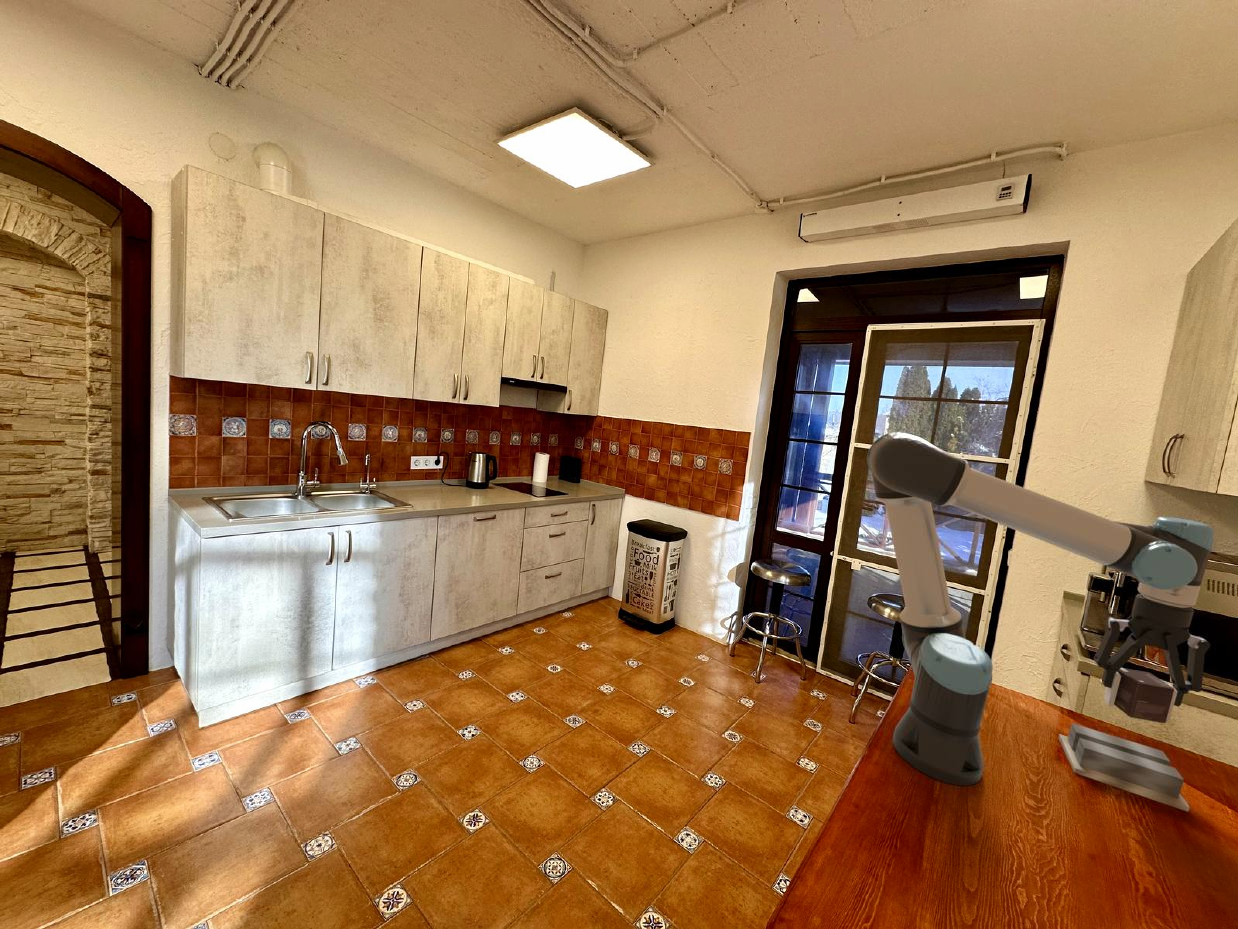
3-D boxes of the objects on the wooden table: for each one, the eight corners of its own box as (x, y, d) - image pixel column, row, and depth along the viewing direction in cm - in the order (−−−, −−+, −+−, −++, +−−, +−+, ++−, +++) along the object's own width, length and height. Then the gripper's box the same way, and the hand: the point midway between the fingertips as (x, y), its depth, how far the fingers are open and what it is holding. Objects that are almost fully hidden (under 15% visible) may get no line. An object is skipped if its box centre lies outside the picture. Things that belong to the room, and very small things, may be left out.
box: (1166, 725, 95) (1176, 689, 94) (1128, 718, 96) (1138, 682, 95) (1141, 706, 101) (1150, 672, 100) (1105, 699, 102) (1114, 666, 101)
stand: (1074, 772, 99) (1080, 749, 98) (1058, 738, 110) (1063, 717, 109) (1188, 812, 92) (1195, 787, 91) (1159, 771, 102) (1166, 748, 101)
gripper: (1101, 591, 96) (1073, 700, 100) (1255, 623, 87) (1219, 742, 90) (1088, 580, 103) (1063, 682, 106) (1231, 608, 93) (1198, 720, 97)
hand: (1135, 710), depth 98 cm, fingers closed on box, 7 cm apart
